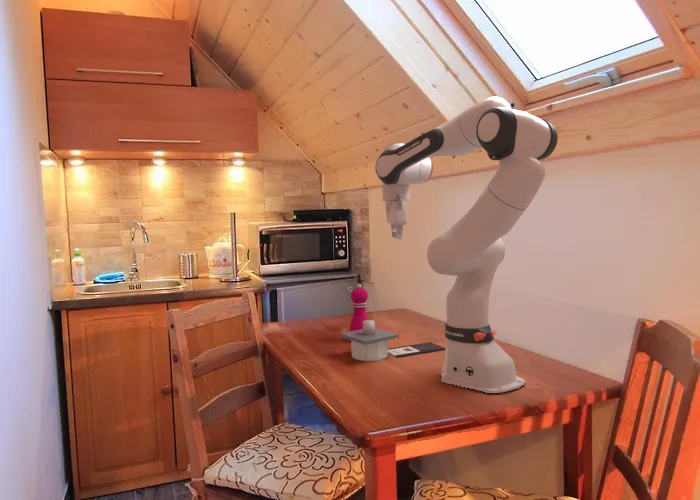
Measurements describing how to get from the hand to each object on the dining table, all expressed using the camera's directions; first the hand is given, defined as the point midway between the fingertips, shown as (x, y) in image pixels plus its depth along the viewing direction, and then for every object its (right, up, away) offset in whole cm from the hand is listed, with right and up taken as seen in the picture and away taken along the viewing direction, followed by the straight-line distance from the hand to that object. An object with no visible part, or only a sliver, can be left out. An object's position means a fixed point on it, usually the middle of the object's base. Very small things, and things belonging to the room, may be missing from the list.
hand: (396, 238), depth 170 cm
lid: (-9, -31, -7) cm, 33 cm away
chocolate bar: (+6, -37, -1) cm, 37 cm away
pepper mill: (-12, -36, +13) cm, 40 cm away
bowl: (-9, -37, -6) cm, 38 cm away
